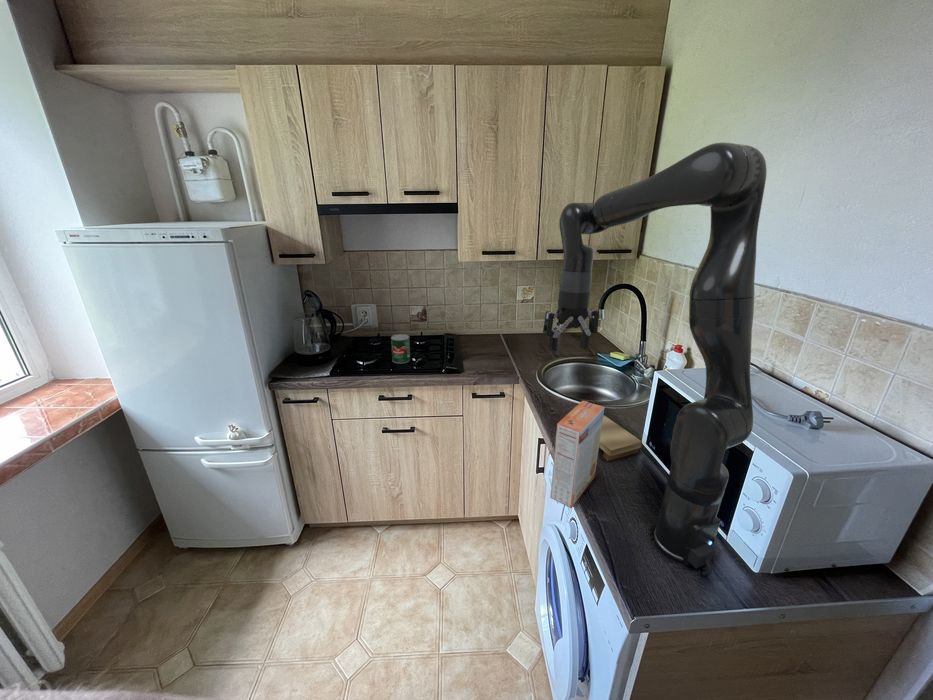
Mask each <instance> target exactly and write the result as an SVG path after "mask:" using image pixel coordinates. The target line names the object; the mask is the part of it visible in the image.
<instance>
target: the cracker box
mask: <svg viewBox="0 0 933 700" xmlns="http://www.w3.org/2000/svg"><path fill="white" fill-rule="evenodd" d="M604 413H605V406H603V405H599V404H596V403H593V402H590V401H587V400H581V401H580V402H578V404H577V405H576V406H575V407H573V409H572V410H570V411H569V412H568V413H567V414H566V415H565V416H564V417H562V419H560V420H559V421H558V422H557V423H556V432H555V445H554V456H553V465H552V476H551V486H550V487H551V488H550V499H551V500H553V501H556V502H558V503H559V504H562V505H564V506H566V507H568V508H570V509H573V508H574V506H575V505H576V503H577V502H578V501H579V499H580V498H581V497H582V495H583V494H584V492H585V491H586V490H587V489H588V487H589V486H590V485H591V483H592V482H593V480H594V479H595V477H596V471H597V463H598V457H599V451H600V450H599V449H600V448H599V443H600V436H601V429H602V422H603V415H604ZM604 416H605V415H604Z"/></svg>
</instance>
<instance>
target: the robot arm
mask: <svg viewBox="0 0 933 700" xmlns="http://www.w3.org/2000/svg"><path fill="white" fill-rule="evenodd" d="M767 170H768V169H767V162H766V159H765V156H764V155H763V153H762V152H761V151H760V150H759V149H758V148H756V147H754V146H751V145H747V144H740V143H732V142H724V141H723V142H715V143H714V142H713V143H711V144H707V145H706V146H704V147H701V148H700V149H698V150H696V151H694V152H692V153H691V154H689V155H687V156H685V157H684V158H682V159H680V160H678V161H677V162H674V163H673V164H672V165H669V166H668V167H666V168H665V169H663V170H661V171H658V172H657V173H655V174H653V175H651V176H649V177H647V178H645V179H642V180H640V181H637V182H635V183H632V184H628V185H626V186H624V187H621V188H618V189H615V190H613V191H609V192H608V193H605V194H603V195H601V196H600V197H598V198H597V199H596V200H595V202H570V203H567V204H566V205H565V207H564V208H563V209H562V211H561V213H560V216H559V220H558V225H559V232H560V239H561V245H562V250H563V257H562V268H561V269H562V270H561V273H560V279H559V285H558V286H559V288H558V289H559V290H558V299H557V300H558V301H557V310H556V312H555V311H554V312H553V311H552V312H551V311H548V310H547V311H545V313H544V321H543V329H542V333H543V334H544V335H546V336H547V337H549V339H548V348H549V349H550V351H552V352H557V349H558V340H559V338H558V337H559V336H560V334H561V333H563V332H564V331H565V329H567V330H570V329H578V328H579V329H580V331H581V334H580V340H579V341H580V342H579V343H580V344H579V347H580V348H581V349H582V350H587V348H588V347H589V344H590V343H589V342H590V336H591V335H593V334H597V333H598V329H599V319H600V318H599V317H600V311H598V310H596V309H594V308H590V310H588V308H589V305H590V299H591V290H592V289H591V288H592V283H593V282H592V281H593V278H592V277H593V276H592V275H593V263H594V257H595V256H594V253H595V251H594V248H593V247H592V246H590V245H587V244H585V243H584V241H583V237H582V235H594V234H599V233H602V232H604V231H606V230H608V229H610V228H613V227H617V226H622V225H626V224H629V223H632V222H636V221H638V220H641V219H642V218H644V217H646V216H649V214H651V213H653V212H655V211H658V210H662V209H666V208H672V207H679V206H680V207H681V206H682V207H683V206H693V205H694V206H696V205H699V206H702V207H709V208H710V232H709V239H708V243H707V247H706V249H705V252H704V254H703V255H702V258H701V261H700V263H699V265H698V266H697V269H696V271H695V273H694V276H693V278H692V281H691V284H690V289H689V303H688V306H689V307H688V324H689V329H690V332H691V336H692V338H693V340H694V343H695V345H696V346H697V349H698V351H699V353H700V354H701V357H702V360H703V362H704V366H705V367H704V368H705V390H704V396H703V398H702V399H698V400H696V401H693V402H692V401H691V402H689V403H686V404H685V405H684V406H683V407H681V409H680V410H679V412H678V413H677V416H676V419H675V421H674V425H673V431H672V438H671V443H670V448H669V456H670V460H671V465H670V469H669V473H668V477H667V481H666V485H665V488H664V489H665V490H664V493H663V498H662V501H661V505H660V510H659V513H658V518H657V521H656V525H655V528H654V532H653V540H654V542H655V544H656V546H657V548H658V549H660V550H661V551H662V552H663V553H664V554H665V555H667V556H668V557H670V558H671V559H673V560H675V561H677V562H680V563H682V564H684V565H685V567H691V566H693V568H695V569H698V568H701V567H702V566H706V570H703V571H702V572H701V574H702V576H704V577H706V576H710V575H711V574H712V572H713V569H712V565H711V563H712V560H713V557H714V554H715V552H716V551H715V549H714V547H713V546H714V544H715V540H716V538H717V534H718V531H719V528H720V525H721V522H722V521H721V519H720V518H719V517H717V516H718V513H719V510H720V507H721V503H722V501H723V497H724V494H725V492H726V488H727V485H728V482H729V479H730V474H729V470H728V468H727V467H726V466H725V465H724V463H723V460H724V457H725V453H726V451H727V450H728V449H731V448H733V447H735V446H738V445H740V444H742V443H743V442H745V441H746V440H747V439H748V438H749V437H750V435H751V434H752V431H753V428H754V409H753V398H752V385H751V384H752V383H751V361H752V342H753V341H752V339H753V338H752V336H753V323H754V313H755V297H756V296H755V277H756V261H757V243H758V242H757V239H758V230H759V222H760V217H761V211H762V205H763V200H764V193H765V187H766V181H767ZM556 318H557V320H556ZM587 318H588V324H587V322H586V319H587ZM555 320H556V322H554V321H555Z"/></svg>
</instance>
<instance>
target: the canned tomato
mask: <svg viewBox="0 0 933 700" xmlns="http://www.w3.org/2000/svg"><path fill="white" fill-rule="evenodd" d="M390 340H391V341H390V343H391V359H392V360H391V361H392V363H393V364H397V365H398V364H401V365H403V364H406V363H409V362H410V361H411V346H410V345H411V344H410V335H409V334H404V333H398V334H397V333H396V334H394V335H393V334H392V335H391V337H390Z"/></svg>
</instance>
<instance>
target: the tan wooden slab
mask: <svg viewBox="0 0 933 700" xmlns="http://www.w3.org/2000/svg"><path fill="white" fill-rule="evenodd" d="M642 444H643V441H642V440H641V439H639V438H638V437H636V436H635V435H633V434H632V433H630V432H629V431H627V430H626V429H625V428H623V427H622V426H620V425H619V424H618V423H616V422H615V421H613V419H610V418H609V417H608V416H606V415H603V422H602V429H601V436H600V443H599V449H600V450H602V451H603V454H602V459H604V460H605V461H606V462H611V461H614V460H618V459H621V458H624V457H627V456H631V455H635V454H637V453H639V451H640V449H641V448H642Z"/></svg>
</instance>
